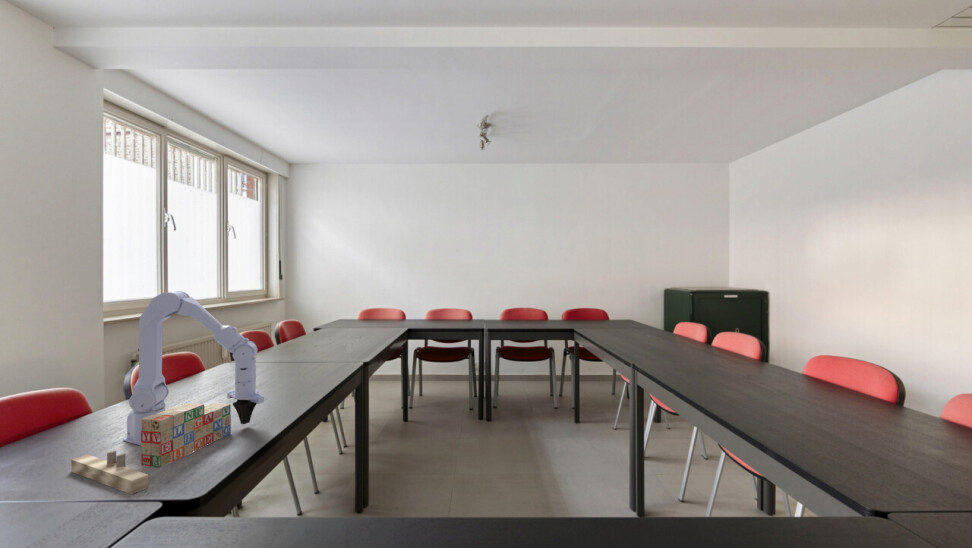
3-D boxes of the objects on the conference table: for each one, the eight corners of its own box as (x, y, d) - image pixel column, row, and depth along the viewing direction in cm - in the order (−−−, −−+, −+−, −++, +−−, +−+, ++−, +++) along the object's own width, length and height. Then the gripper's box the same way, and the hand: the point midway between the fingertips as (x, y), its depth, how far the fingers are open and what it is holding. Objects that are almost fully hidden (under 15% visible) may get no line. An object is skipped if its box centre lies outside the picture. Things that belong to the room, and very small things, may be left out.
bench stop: (71, 471, 96) (71, 449, 96) (91, 464, 99) (91, 443, 99) (131, 494, 86) (132, 469, 86) (152, 486, 89) (152, 462, 89)
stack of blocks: (213, 432, 120) (214, 392, 120) (231, 434, 119) (231, 394, 119) (140, 466, 99) (140, 417, 99) (160, 468, 98) (161, 419, 98)
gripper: (272, 379, 125) (272, 422, 125) (242, 375, 130) (241, 415, 130) (252, 385, 118) (252, 430, 118) (220, 380, 124) (220, 423, 124)
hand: (245, 423), depth 124 cm, fingers closed
